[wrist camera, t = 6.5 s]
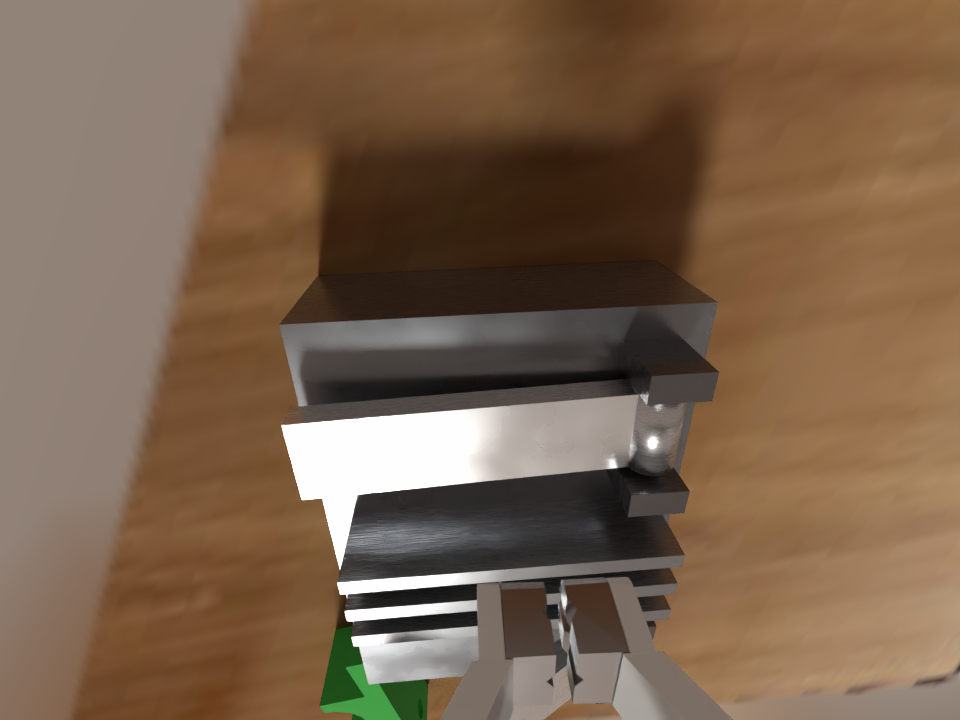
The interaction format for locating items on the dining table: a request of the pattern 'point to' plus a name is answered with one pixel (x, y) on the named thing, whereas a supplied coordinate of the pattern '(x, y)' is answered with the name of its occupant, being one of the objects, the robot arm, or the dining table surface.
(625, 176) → the dining table surface
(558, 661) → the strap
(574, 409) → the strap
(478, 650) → the robot arm
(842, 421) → the dining table surface
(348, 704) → the pipe clamp
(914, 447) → the dining table surface
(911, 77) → the dining table surface
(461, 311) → the heatsink block
